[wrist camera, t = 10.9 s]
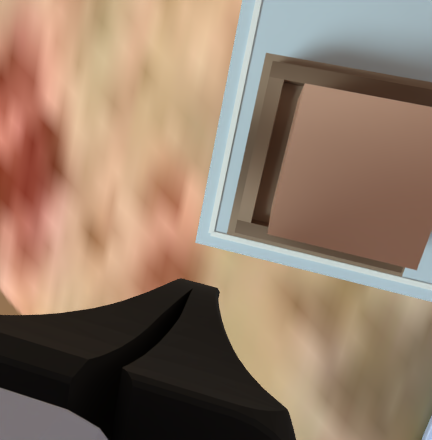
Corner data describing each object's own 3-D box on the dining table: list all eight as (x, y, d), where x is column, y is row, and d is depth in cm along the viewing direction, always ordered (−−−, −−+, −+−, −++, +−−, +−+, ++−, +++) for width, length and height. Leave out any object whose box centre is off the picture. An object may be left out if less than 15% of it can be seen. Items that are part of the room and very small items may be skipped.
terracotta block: (375, 229, 16) (416, 270, 11) (271, 205, 16) (267, 234, 11) (410, 122, 15) (474, 114, 10) (297, 100, 15) (304, 83, 10)
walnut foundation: (381, 252, 19) (407, 283, 15) (235, 218, 20) (223, 238, 16) (433, 98, 17) (480, 86, 13) (268, 68, 18) (265, 47, 14)
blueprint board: (437, 297, 20) (446, 306, 19) (199, 237, 22) (194, 243, 21) (573, -46, 16) (593, -59, 15) (262, -86, 18) (261, -101, 17)
